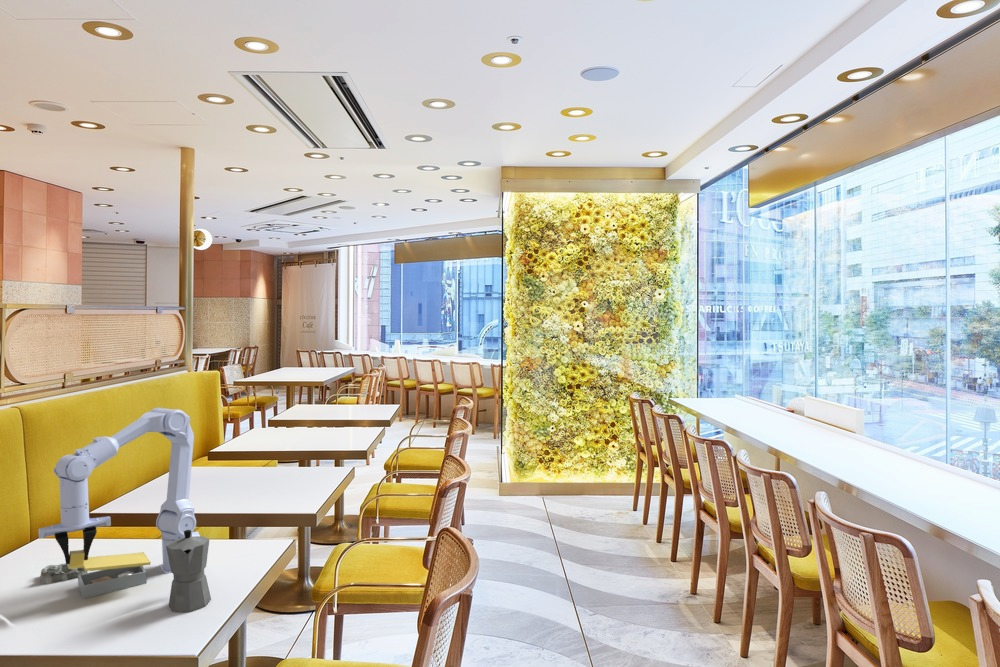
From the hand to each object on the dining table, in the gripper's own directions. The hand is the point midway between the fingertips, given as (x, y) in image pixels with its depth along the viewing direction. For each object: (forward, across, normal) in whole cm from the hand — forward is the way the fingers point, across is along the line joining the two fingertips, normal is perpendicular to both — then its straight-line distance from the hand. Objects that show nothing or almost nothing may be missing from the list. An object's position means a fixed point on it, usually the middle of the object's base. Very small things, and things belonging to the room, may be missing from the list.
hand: (76, 560), depth 160 cm
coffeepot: (+11, -21, +17) cm, 29 cm away
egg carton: (+11, +1, -21) cm, 24 cm away
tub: (+10, -8, -6) cm, 14 cm away
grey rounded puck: (+10, -11, -6) cm, 16 cm away
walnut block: (+10, -6, -5) cm, 13 cm away
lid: (+3, -7, 0) cm, 7 cm away
